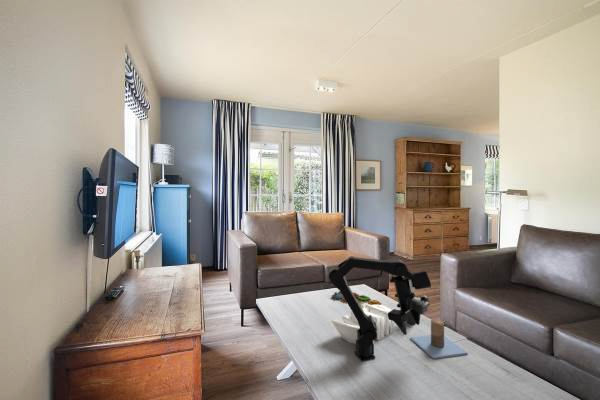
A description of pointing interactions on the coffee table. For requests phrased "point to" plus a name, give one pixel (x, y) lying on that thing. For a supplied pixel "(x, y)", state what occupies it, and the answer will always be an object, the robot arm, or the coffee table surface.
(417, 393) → the coffee table surface
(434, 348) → the blue mat
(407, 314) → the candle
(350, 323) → the wavy white extrusion
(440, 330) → the walnut pillar
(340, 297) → the gear puzzle
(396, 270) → the robot arm
